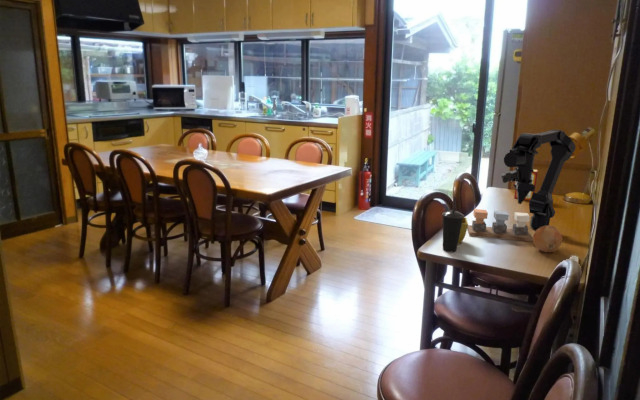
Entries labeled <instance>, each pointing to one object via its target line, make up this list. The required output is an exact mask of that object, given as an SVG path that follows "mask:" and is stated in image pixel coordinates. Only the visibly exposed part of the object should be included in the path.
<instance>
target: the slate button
mask: <svg viewBox="0 0 640 400" xmlns="http://www.w3.org/2000/svg"><path fill="white" fill-rule="evenodd" d="M509 215H510V214H509V213H508V211H503V210H494V211H493V219H494V220H495V222H496V225H500V226H504V223H505V221H509V217H510V216H509Z"/></svg>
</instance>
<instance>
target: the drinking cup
mask: <svg viewBox="0 0 640 400" xmlns="http://www.w3.org/2000/svg"><path fill="white" fill-rule="evenodd" d="M456 200H457V197H456V196H455V197H453V203H452V204H453V205H452V210H447V211H444V212H442V214H441V215H442V251H444V252H448V253H455V252H457V249H458V245H459V244H458V240H459V235H460V230H461V225H462V221H463V218H464V217H465V214H463V213H462V212H460V211H457V210H456V209H455V208H456Z"/></svg>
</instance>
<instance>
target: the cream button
mask: <svg viewBox="0 0 640 400" xmlns="http://www.w3.org/2000/svg"><path fill="white" fill-rule="evenodd" d="M513 217H514V218H513V219H514V221H516V223H515V224H516V226H517V227H523V228H525V225H526V223H530V221H531V216H530V215H529V213H527V212H518V211H517V212H516V211H515V212H514V216H513Z"/></svg>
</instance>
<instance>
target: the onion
mask: <svg viewBox="0 0 640 400" xmlns="http://www.w3.org/2000/svg"><path fill="white" fill-rule="evenodd" d="M532 237H533V241H532V242H533V244H534V246H535V248H537V250H540V252H544V253H552V252H555V251H557V250H558V249H559V248H560V247H561V246H562V243H563V235H562V233H561V232H560V231H559V229H557V227H556V226H554V225H550V224H549V225H548V226H542V227H540V228H538V229H537V230H534V232H533V235H532Z"/></svg>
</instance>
